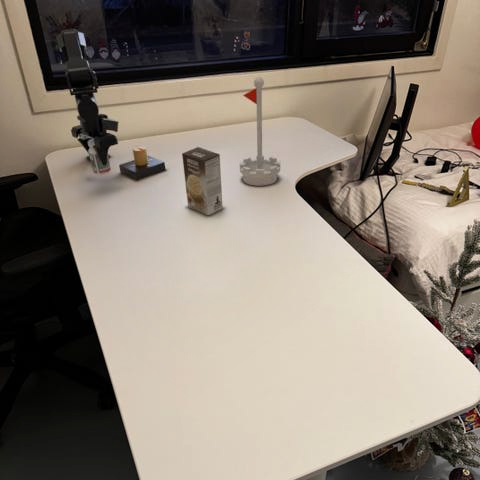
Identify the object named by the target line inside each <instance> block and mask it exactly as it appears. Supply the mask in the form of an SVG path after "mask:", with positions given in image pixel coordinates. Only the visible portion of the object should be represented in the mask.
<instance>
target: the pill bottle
mask: <svg viewBox="0 0 480 480" xmlns="http://www.w3.org/2000/svg"><path fill="white" fill-rule="evenodd" d="M94 145H95V144H94V139H92V140H89V141H88V146H89V147H90V148H89V150H88V152H89V154H88V156H90V159H89V160H90V164H91V168H92V172H93V173H94V174H95V175H99V176H102V175H106V174H109V173H111V172H112V166H111V164H110V157H108V156H107V165H103V164H102V162H101V161H100V159H99V157H98V155H97V154H96V152H95V150H94V148H93V146H94ZM88 152H87V153H88Z"/></svg>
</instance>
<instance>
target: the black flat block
mask: <svg viewBox="0 0 480 480" xmlns="http://www.w3.org/2000/svg"><path fill="white" fill-rule="evenodd" d="M147 159H148V164H146V165H141V166H139V165H136V164H135V160H134V159H133V160H130V161H127V162H124V163H120V164H119V165H118V168H119V173H120V175H122V176H126V177H127V178H130V179H132V180H133V181H140V180H143V179H146V178H149V177H152V176H154V175H157V174H161V173H163V172H166V163H165V161H163V160H160V159H158V158H155V157H153V156H151V155H147Z"/></svg>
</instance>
